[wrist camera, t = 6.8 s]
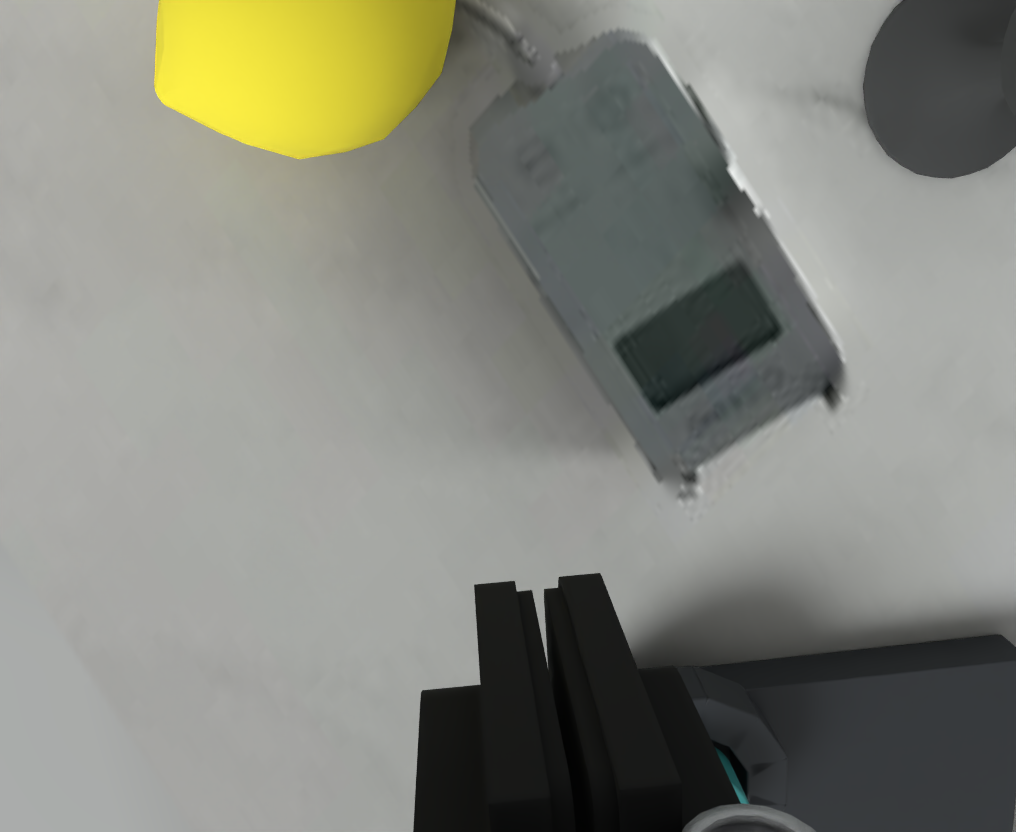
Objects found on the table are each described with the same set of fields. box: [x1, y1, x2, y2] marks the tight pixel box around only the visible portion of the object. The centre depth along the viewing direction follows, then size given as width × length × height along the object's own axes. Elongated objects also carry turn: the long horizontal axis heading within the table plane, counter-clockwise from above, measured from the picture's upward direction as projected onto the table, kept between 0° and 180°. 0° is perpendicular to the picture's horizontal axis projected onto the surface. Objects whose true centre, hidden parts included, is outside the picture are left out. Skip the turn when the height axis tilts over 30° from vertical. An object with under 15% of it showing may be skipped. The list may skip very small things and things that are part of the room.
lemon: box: [154, 0, 456, 159], centre depth 18 cm, size 7×5×5 cm
